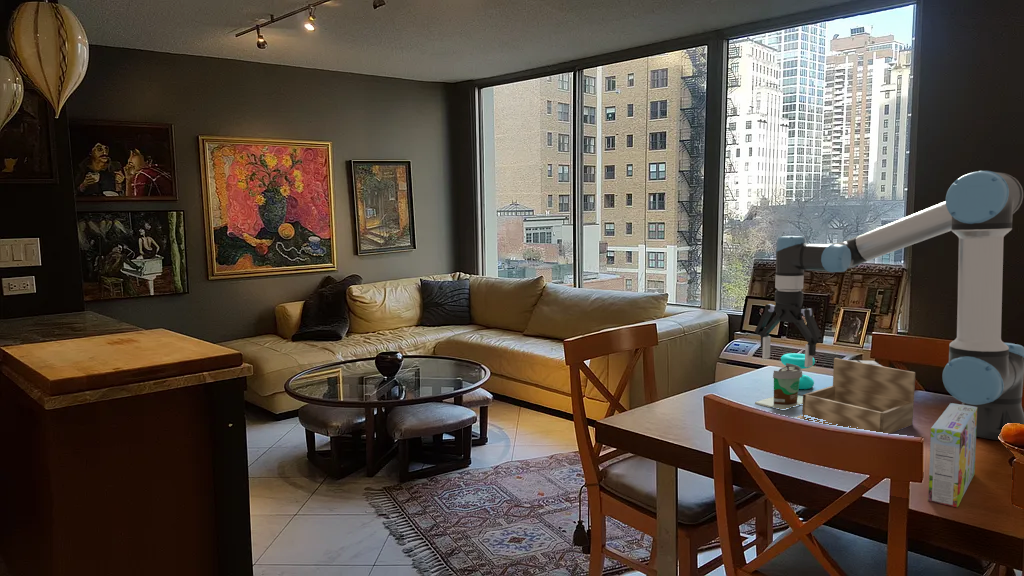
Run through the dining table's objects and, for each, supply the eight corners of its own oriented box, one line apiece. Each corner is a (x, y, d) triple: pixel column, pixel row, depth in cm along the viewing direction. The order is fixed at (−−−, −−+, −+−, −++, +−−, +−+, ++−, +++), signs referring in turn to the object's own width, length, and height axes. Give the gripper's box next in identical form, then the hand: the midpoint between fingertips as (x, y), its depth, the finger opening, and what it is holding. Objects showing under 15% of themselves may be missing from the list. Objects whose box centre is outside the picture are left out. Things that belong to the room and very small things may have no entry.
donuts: (815, 360, 208) (780, 357, 212) (814, 391, 209) (779, 388, 213) (814, 353, 217) (781, 351, 221) (813, 383, 219) (780, 381, 222)
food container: (794, 408, 191) (795, 374, 190) (772, 404, 195) (773, 370, 193) (806, 398, 200) (808, 365, 199) (785, 395, 204) (786, 362, 203)
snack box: (944, 468, 148) (949, 401, 146) (975, 475, 145) (980, 406, 143) (925, 501, 132) (929, 426, 131) (959, 509, 129) (964, 432, 127)
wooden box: (912, 424, 177) (915, 372, 176) (869, 442, 165) (872, 386, 163) (833, 405, 195) (835, 357, 193) (789, 419, 183) (791, 369, 181)
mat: (814, 401, 200) (814, 399, 200) (782, 411, 190) (782, 409, 190) (787, 394, 207) (787, 392, 207) (755, 403, 198) (755, 402, 198)
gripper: (838, 292, 187) (835, 368, 189) (759, 285, 207) (757, 353, 209) (823, 295, 182) (820, 372, 185) (743, 287, 203) (742, 356, 205)
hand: (786, 362), depth 197 cm, fingers open, 13 cm apart
